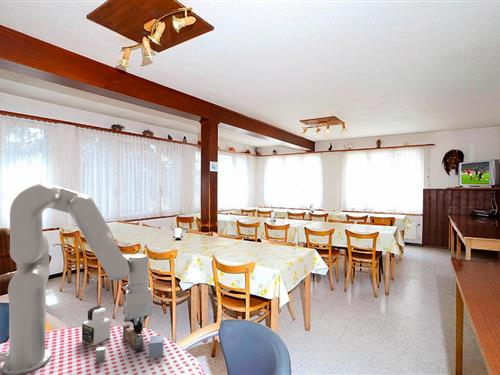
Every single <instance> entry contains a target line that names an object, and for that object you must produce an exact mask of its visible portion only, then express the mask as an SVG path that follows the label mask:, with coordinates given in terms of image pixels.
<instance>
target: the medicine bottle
mask: <svg viewBox="0 0 500 375" xmlns="http://www.w3.org/2000/svg"><path fill="white" fill-rule="evenodd" d="M81 325H82V326H81V342H84V343H85V344H88V345H90V346H96V345H98V344H100V343H102V342H104V341H106V340H108V339H110V338H111V319H110V318H107V317H106V307H105V306H101V305H99V306H94V307H91V308H90V309H88V310H87V320H85V321H83V322H82V323H81Z"/></svg>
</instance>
